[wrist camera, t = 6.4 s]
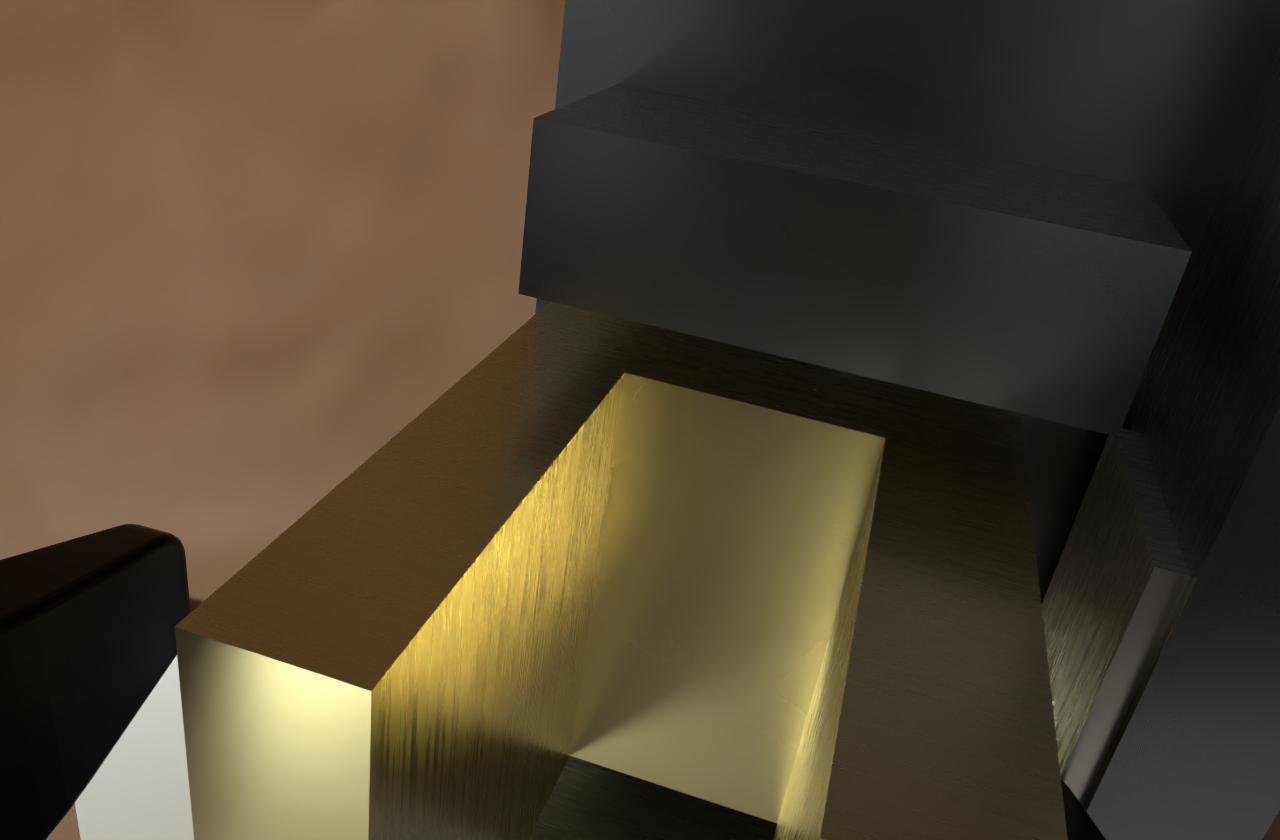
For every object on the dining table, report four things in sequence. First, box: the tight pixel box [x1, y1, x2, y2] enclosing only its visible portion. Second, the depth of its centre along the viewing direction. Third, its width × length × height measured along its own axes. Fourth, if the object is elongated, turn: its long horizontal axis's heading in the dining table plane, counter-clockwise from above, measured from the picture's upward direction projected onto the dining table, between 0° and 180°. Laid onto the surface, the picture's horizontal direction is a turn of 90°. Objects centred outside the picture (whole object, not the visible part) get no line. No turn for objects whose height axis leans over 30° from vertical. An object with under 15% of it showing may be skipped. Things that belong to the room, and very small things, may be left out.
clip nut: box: [175, 301, 1068, 840], centre depth 7 cm, size 4×4×5 cm
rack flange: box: [519, 0, 1280, 840], centre depth 11 cm, size 20×6×4 cm, turn 172°
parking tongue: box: [75, 656, 194, 840], centre depth 17 cm, size 8×6×1 cm
